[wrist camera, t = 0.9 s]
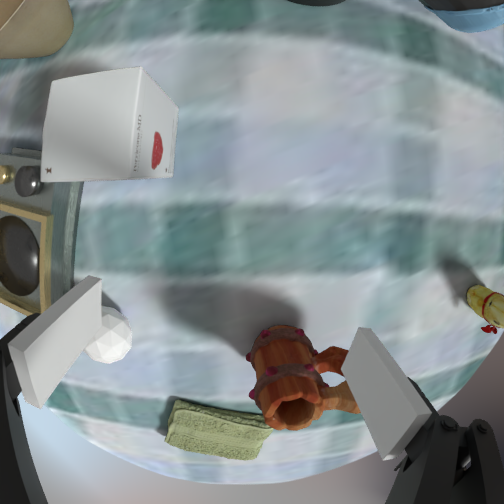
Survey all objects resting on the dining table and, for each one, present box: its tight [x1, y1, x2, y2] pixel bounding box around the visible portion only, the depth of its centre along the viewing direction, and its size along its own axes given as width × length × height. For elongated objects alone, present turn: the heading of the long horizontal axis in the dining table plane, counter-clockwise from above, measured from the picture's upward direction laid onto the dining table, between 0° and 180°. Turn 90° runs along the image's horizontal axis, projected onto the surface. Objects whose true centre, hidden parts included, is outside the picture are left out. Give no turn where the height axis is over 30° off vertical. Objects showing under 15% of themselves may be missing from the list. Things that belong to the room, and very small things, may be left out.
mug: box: [246, 325, 361, 430], centre depth 33 cm, size 15×8×15 cm, turn 93°
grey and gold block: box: [0, 148, 84, 316], centre depth 30 cm, size 22×15×8 cm
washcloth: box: [165, 400, 274, 460], centre depth 43 cm, size 13×18×3 cm
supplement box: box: [41, 67, 179, 182], centre depth 25 cm, size 9×9×15 cm
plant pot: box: [0, 0, 74, 59], centre depth 18 cm, size 15×15×16 cm
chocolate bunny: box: [467, 285, 504, 334], centre depth 33 cm, size 7×11×15 cm, turn 63°
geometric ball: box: [83, 306, 132, 364], centre depth 34 cm, size 8×8×8 cm
